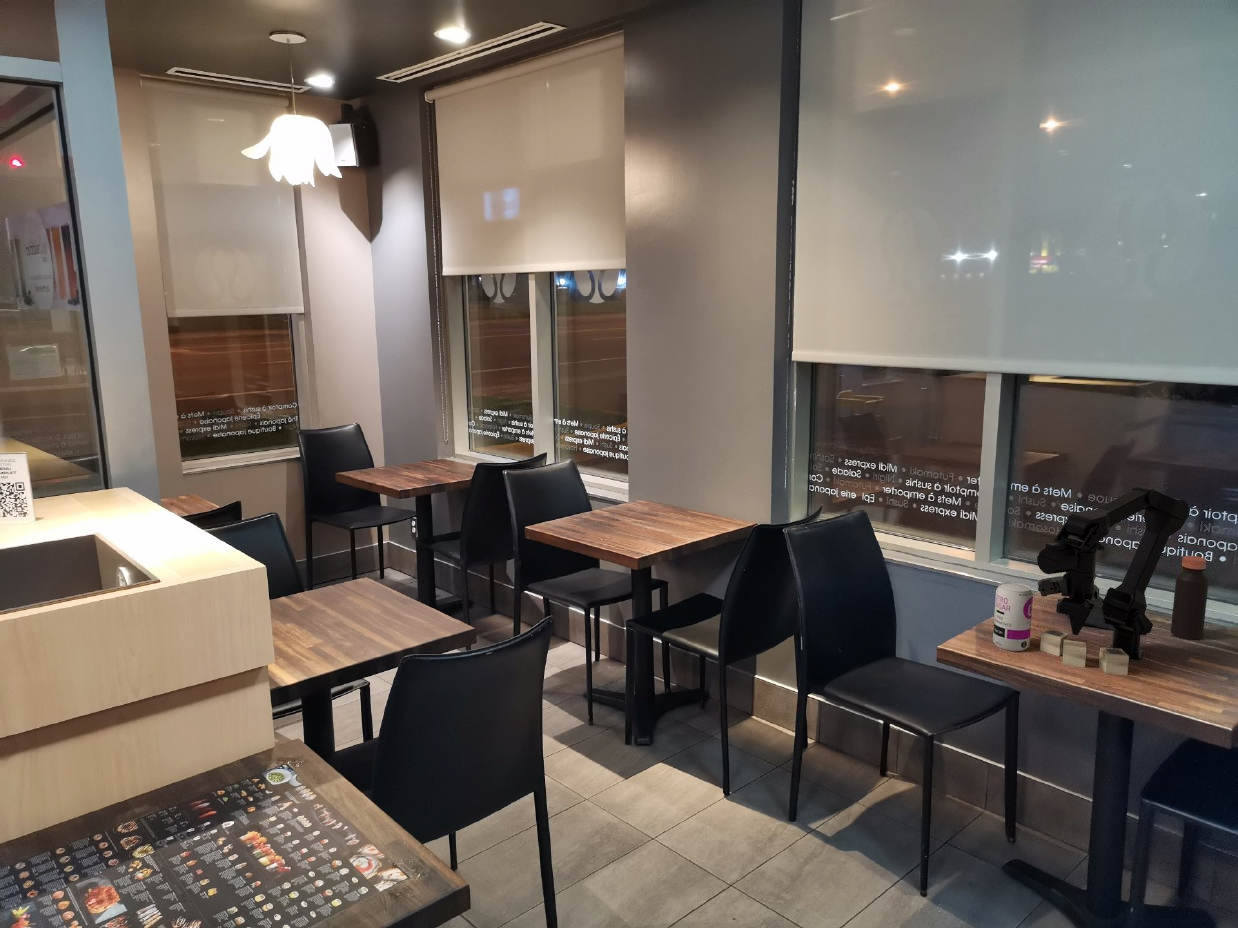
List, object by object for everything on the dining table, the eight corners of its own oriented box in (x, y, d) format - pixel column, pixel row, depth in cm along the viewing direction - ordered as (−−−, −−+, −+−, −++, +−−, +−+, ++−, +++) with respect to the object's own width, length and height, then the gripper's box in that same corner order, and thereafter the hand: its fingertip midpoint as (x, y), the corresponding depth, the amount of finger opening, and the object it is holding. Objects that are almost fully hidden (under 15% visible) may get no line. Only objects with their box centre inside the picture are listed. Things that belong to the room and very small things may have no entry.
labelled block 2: (1098, 666, 198) (1100, 646, 198) (1119, 667, 197) (1121, 647, 197) (1105, 673, 194) (1107, 654, 193) (1127, 675, 193) (1129, 655, 192)
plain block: (1062, 657, 203) (1064, 639, 203) (1084, 660, 201) (1085, 642, 201) (1062, 664, 199) (1064, 646, 199) (1084, 667, 197) (1086, 649, 197)
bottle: (1197, 642, 212) (1206, 563, 208) (1166, 634, 217) (1174, 558, 213) (1206, 635, 216) (1214, 558, 213) (1175, 628, 221) (1183, 552, 218)
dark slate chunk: (1058, 626, 225) (1059, 608, 224) (1056, 601, 245) (1058, 584, 244) (1126, 634, 218) (1127, 616, 218) (1118, 608, 238) (1120, 591, 237)
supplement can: (1033, 645, 211) (1038, 586, 208) (1022, 654, 205) (1026, 594, 203) (999, 637, 216) (1003, 579, 214) (987, 646, 211) (991, 587, 208)
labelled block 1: (1048, 646, 210) (1050, 627, 210) (1067, 651, 207) (1069, 633, 206) (1040, 650, 208) (1041, 632, 207) (1059, 656, 204) (1060, 637, 203)
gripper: (1050, 554, 209) (1045, 616, 211) (1034, 573, 194) (1029, 639, 197) (1102, 562, 202) (1096, 625, 205) (1089, 581, 187) (1083, 649, 190)
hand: (1075, 634), depth 199 cm, fingers closed
